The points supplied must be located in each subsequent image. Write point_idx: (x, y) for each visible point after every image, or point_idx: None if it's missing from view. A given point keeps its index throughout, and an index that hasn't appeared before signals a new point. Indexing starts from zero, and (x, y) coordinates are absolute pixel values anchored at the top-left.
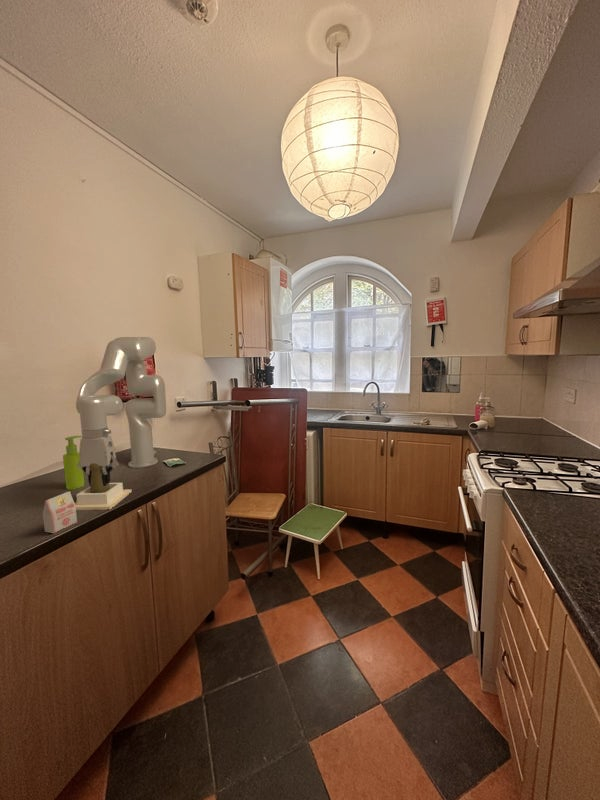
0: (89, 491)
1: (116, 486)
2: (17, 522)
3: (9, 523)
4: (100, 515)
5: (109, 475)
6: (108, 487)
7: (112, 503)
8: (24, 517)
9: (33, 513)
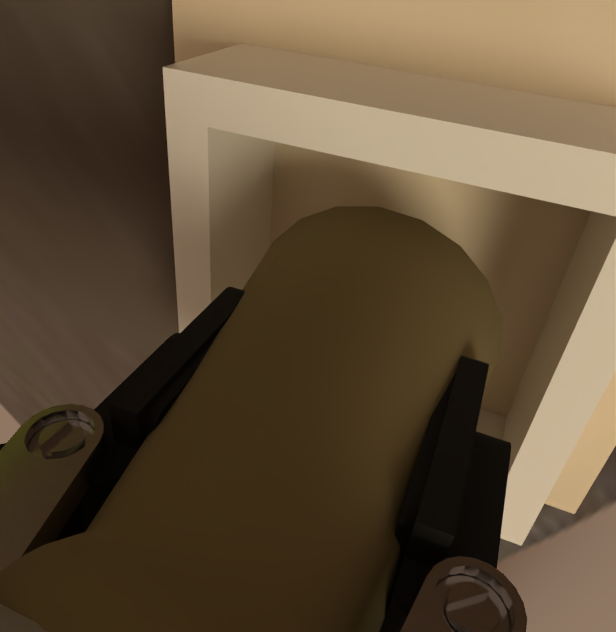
0: (232, 265)
1: (613, 347)
2: (37, 409)
3: (9, 404)
4: (513, 547)
5: (493, 543)
6: (487, 379)
7: (586, 463)
8: (16, 361)
9: (16, 322)
